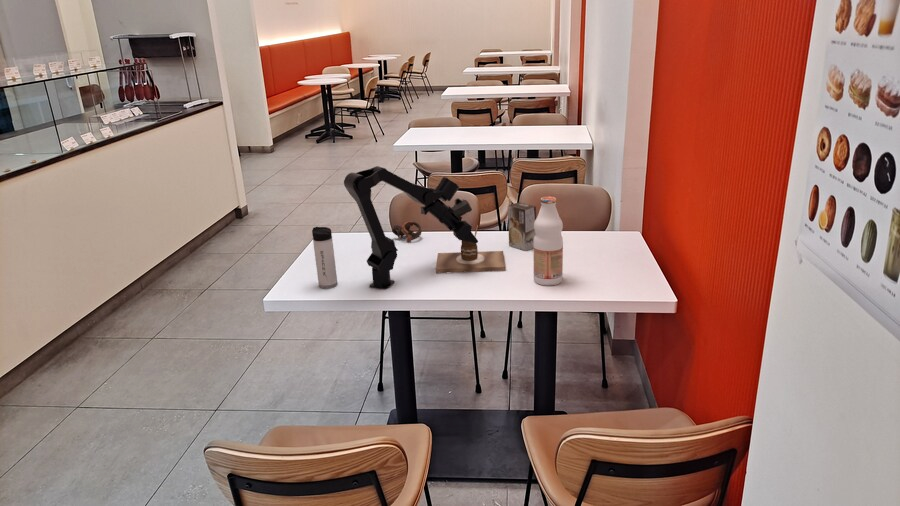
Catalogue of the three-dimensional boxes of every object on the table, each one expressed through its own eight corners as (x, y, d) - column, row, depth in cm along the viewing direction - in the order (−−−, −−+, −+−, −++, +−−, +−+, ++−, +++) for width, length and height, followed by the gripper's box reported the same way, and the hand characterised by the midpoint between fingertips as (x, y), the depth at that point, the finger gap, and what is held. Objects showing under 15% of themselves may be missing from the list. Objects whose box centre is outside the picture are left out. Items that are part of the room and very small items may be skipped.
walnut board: (503, 254, 234) (503, 249, 233) (505, 270, 218) (505, 265, 218) (438, 256, 235) (437, 251, 234) (435, 273, 220) (435, 267, 219)
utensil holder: (460, 255, 228) (459, 224, 224) (477, 254, 228) (476, 223, 224) (461, 261, 223) (460, 229, 219) (479, 260, 223) (478, 228, 219)
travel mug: (328, 279, 218) (321, 224, 212) (341, 283, 214) (335, 227, 208) (314, 285, 214) (307, 229, 207) (327, 290, 210) (320, 232, 203)
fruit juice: (531, 285, 206) (531, 202, 196) (535, 274, 214) (535, 194, 205) (560, 287, 203) (562, 202, 194) (563, 276, 212) (565, 194, 202)
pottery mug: (419, 235, 261) (423, 221, 256) (418, 251, 255) (422, 237, 249) (390, 229, 260) (394, 215, 254) (388, 246, 253) (392, 232, 247)
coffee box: (537, 247, 240) (537, 206, 234) (525, 251, 236) (525, 209, 230) (519, 241, 246) (518, 201, 241) (507, 246, 242) (507, 205, 237)
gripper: (464, 200, 208) (497, 228, 215) (449, 187, 225) (480, 213, 232) (442, 226, 209) (475, 253, 215) (429, 211, 226) (460, 237, 232)
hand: (473, 238), depth 224 cm, fingers open, 9 cm apart
